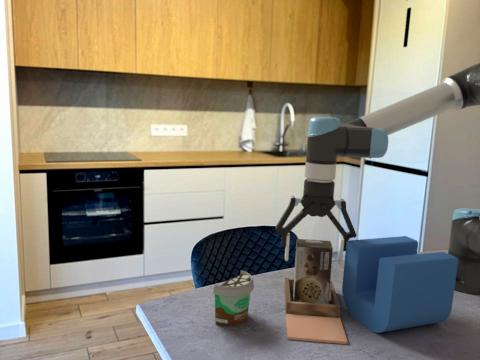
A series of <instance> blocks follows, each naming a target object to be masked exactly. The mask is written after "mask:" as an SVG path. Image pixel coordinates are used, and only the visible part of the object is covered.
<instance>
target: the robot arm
mask: <svg viewBox="0 0 480 360" xmlns="http://www.w3.org/2000/svg"><path fill="white" fill-rule="evenodd" d="M477 106H480V62H477V63H475V64H473V65H471V66H469V67H467V68H465V69H463V70H460V71H458V72H455V73H454V74H452V75H449V76H447V77H445V78H443V79H442V80H441V83H440V84H437V85H435V86H433V87H430V88H428V89H426V90H423V91H421V92H420V91H419V92H418V93H415V94H413V95H411V96H408V97H406V98H403V99H401V100H399V101H396V102H394V103H392V104H389V105H387V106H384V107H382V108H379V109H378V110H375V111H372V112H370V113H367V114H365V115H363V116H360V117H358V118H356V119H353V120H351V121H348V122H341V120H340V118H338V117H329V116H327V117H326V116H312V117H311V118H310V119H309V123H308V130H307V136H306V137H307V141H306V157H305V168H304V177H305V180H303V193H302V197H301V198H300V197H296V196H294V195H291V196H290V197H289V198H290V199H289V203H288V206H287V207H286V209H285V210H284V213H282V215H281V217H280V219H279V220H278V221H277V223H276V226H275V232H276V233H279V234H281V247H282V248H285V250H284V261H286V262H288V261H289V253H290V239H291V234H290V232H291V231H292V230H294V228H295V227H296V226H298V224H299V223H300V222H301V221H302V220H303V219H304V218H306V217H307V216H310V217H319V218H324V217H326V216H327V217H328V219H329V220H330V221H331V223H332V224H333V225H334V226H335V228H336V229H337V230H338V232H339V233H340V234H341V235H340V236H339V241H338V250H337V251H338V253H337V263H338V265H341V266H342V265H343V258H344V252H346V242H347V241H349V240H351V239H354V238H356V237H357V232H356V230H355V227H354V225H353V223H352V221H351V218H350V216H349V213H348V211H347V210H348V209H347V201H345V199H344V198H341V199H339V200H335V198H334V197H335V195H334V194H335V186H336V185H335V183H336V182H335V181H334V180H335V179H336V172H337V160H338V157H346V158H347V157H349V158H361V159H362V158H364V159H365V158H366V159H370V160H371V159H380V158H383V157H384V156H385V155H386V154H387V152H388V148H389V136H390V135H392V134H394V133H397V132H400V131H402V130H405V129H408V128H409V127H411V126H414V125H416V124H419V123H421V122H424V121H426V120H428V119H432V118H434V117H437V116H438V115H441V114H444V113H445V112H448V111H451V110H453V111H454V112H455V111H457V112H458V111H460V110H463V109H465V108H469V107H477ZM299 204H301V206H302V209H301V210H300V211H299V213H297V214H296V215H295V216H294V217H293V218H292V220H290V221H289V222H288V223H287V224H286V222H287V221H288V219H289V217H290V216H291V214H292V212H293V210H294V209H295V207H297V206H298V205H299ZM335 206H336V207H337V209H338V210H340V212H341V215H342V216H343V220H344V222H345V224H346V226H347V229H348V231H346V229H345V228H344V227H343V226H342V225H341V223H340V222H339V220H338V219H337V218H336V216H335V215H334V214H333V212H332V210H333V208H335ZM284 225H285V226H284ZM450 227H451V228H450V233H449V234H450V235H449V241H448V243H449V244H448V252H447V253H448V254H450V255H452V256H455V257H457V258H458V266H457V273H456V281H455V288H454V291H458V292H463V293H466V294H468V293H469V294H474V295H480V208H471V207H470V208H469V207H467V208H466V207H460V208H456V209H455V210H454V211H453V213H452V219H451V226H450Z"/></svg>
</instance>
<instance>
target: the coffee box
mask: <svg viewBox="0 0 480 360" xmlns="http://www.w3.org/2000/svg"><path fill="white" fill-rule="evenodd" d="M295 244H296V245H295V259H294V273H293V275H294V277H293V278H294V289H293V290H292V291H293V292H292V301H293V302H306V303H320V304H330V298H329V294H330V281H332V280H331V279H332V278H331V277H332V276H331V275H332V267H333V266H332V264H333V263H332V262H333V251H334V249H333V246H332V241H331V240H319V239H304V238H296V243H295Z"/></svg>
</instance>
